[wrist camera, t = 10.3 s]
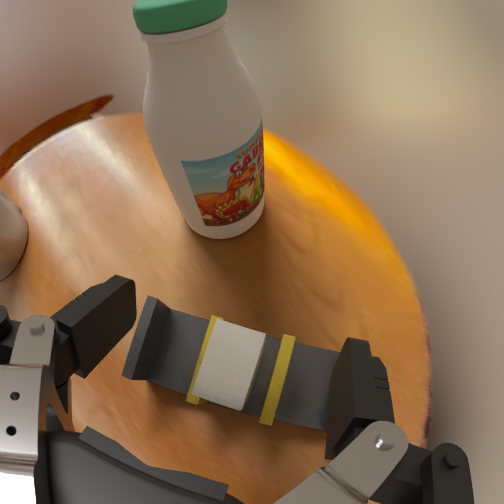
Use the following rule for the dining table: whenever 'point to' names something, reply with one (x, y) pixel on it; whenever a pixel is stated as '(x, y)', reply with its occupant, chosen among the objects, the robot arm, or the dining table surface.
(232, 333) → the white block
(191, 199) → the milk bottle
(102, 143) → the dining table surface
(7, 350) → the robot arm
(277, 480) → the dining table surface
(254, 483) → the dining table surface
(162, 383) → the rack
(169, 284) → the dining table surface
